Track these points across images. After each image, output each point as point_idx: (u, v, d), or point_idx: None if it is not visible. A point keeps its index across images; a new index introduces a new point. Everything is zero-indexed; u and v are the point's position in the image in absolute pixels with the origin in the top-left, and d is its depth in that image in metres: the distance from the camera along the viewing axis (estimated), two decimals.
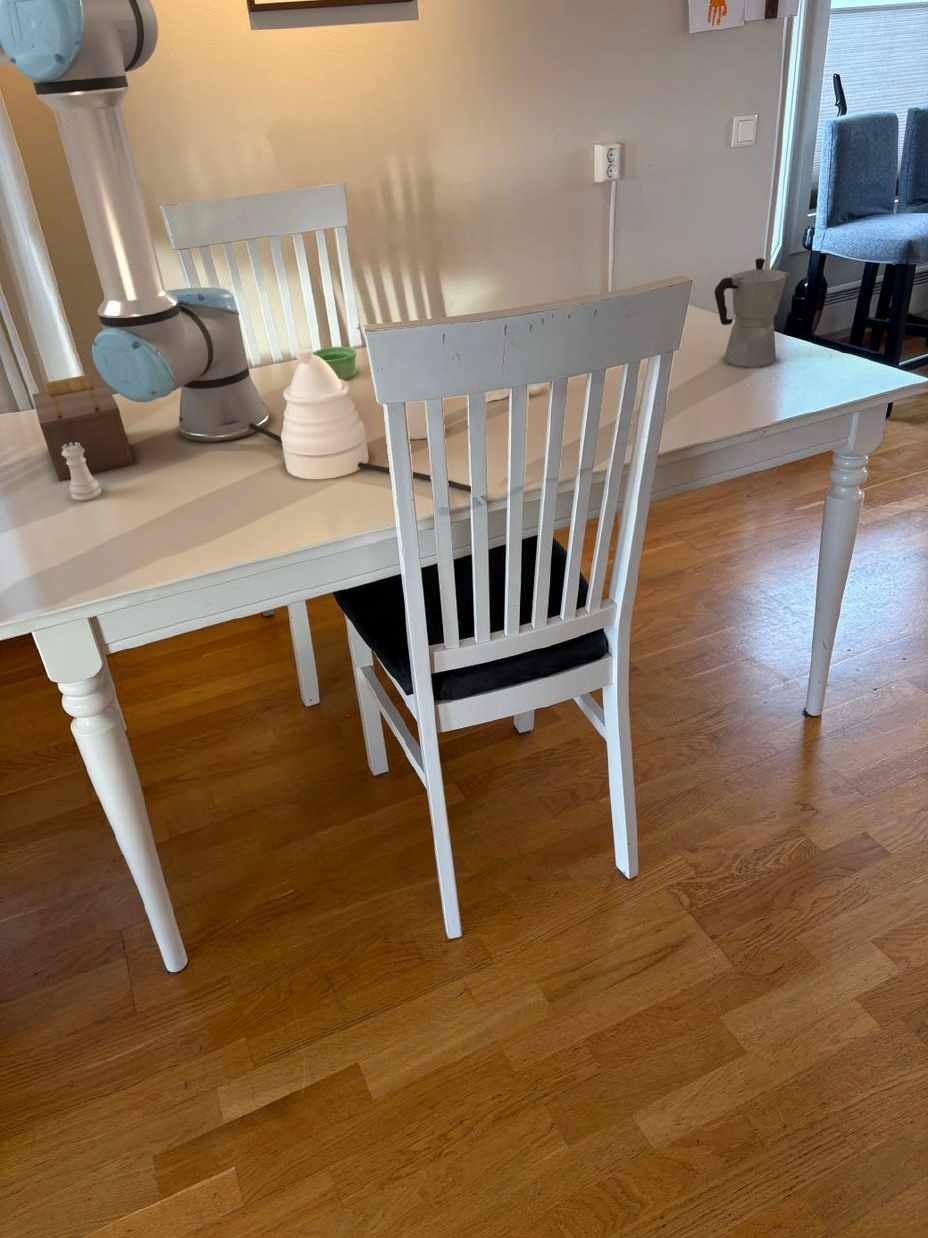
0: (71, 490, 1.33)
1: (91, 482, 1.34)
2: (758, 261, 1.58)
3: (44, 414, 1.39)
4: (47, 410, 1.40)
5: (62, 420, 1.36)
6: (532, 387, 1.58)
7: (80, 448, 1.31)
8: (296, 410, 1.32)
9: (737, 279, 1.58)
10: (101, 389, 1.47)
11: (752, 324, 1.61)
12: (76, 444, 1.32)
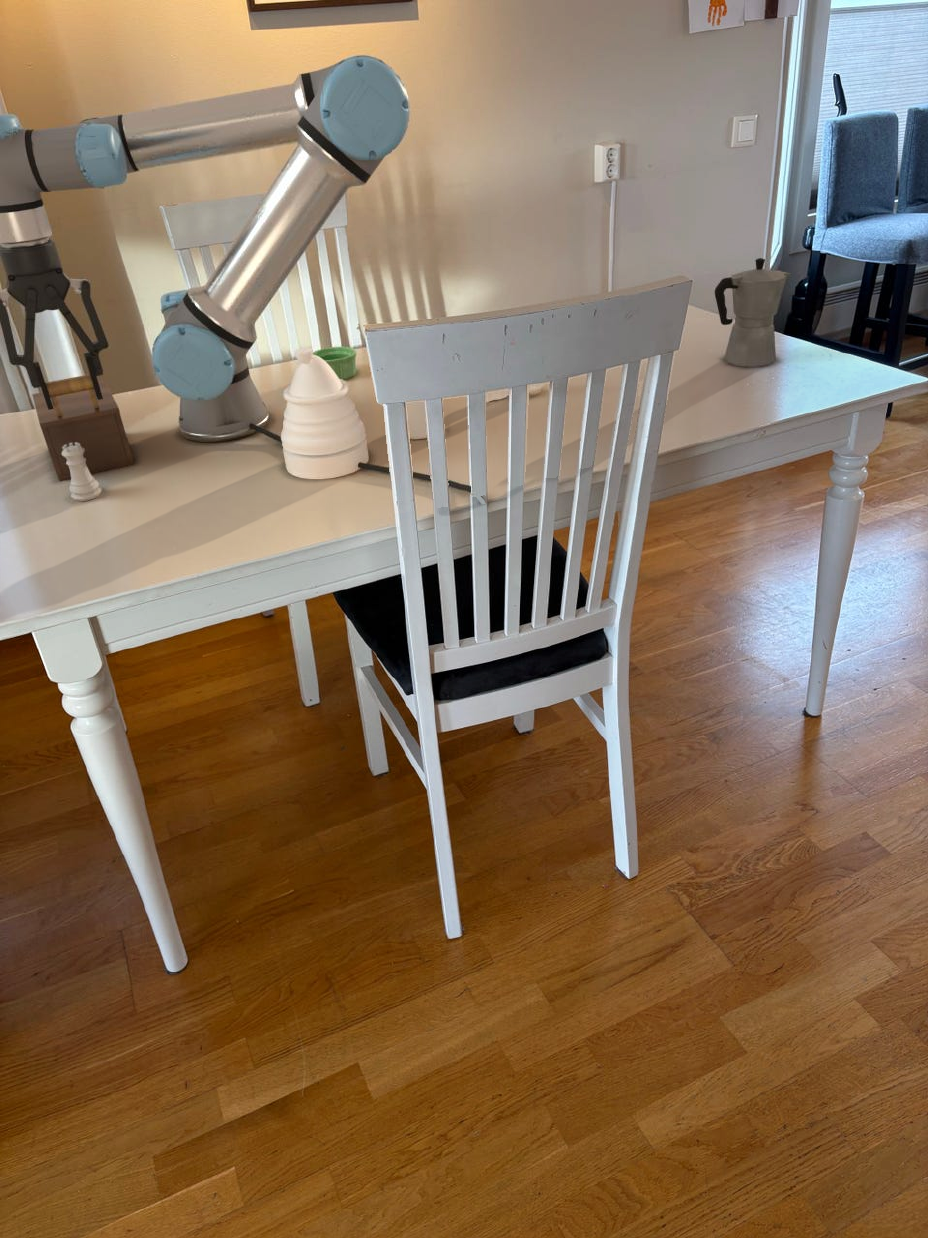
0: (71, 490, 1.33)
1: (91, 482, 1.34)
2: (758, 261, 1.58)
3: (44, 414, 1.39)
4: (47, 410, 1.40)
5: (62, 420, 1.36)
6: (532, 387, 1.58)
7: (80, 448, 1.31)
8: (296, 409, 1.32)
9: (737, 279, 1.58)
10: (101, 389, 1.47)
11: (752, 324, 1.61)
12: (76, 444, 1.32)
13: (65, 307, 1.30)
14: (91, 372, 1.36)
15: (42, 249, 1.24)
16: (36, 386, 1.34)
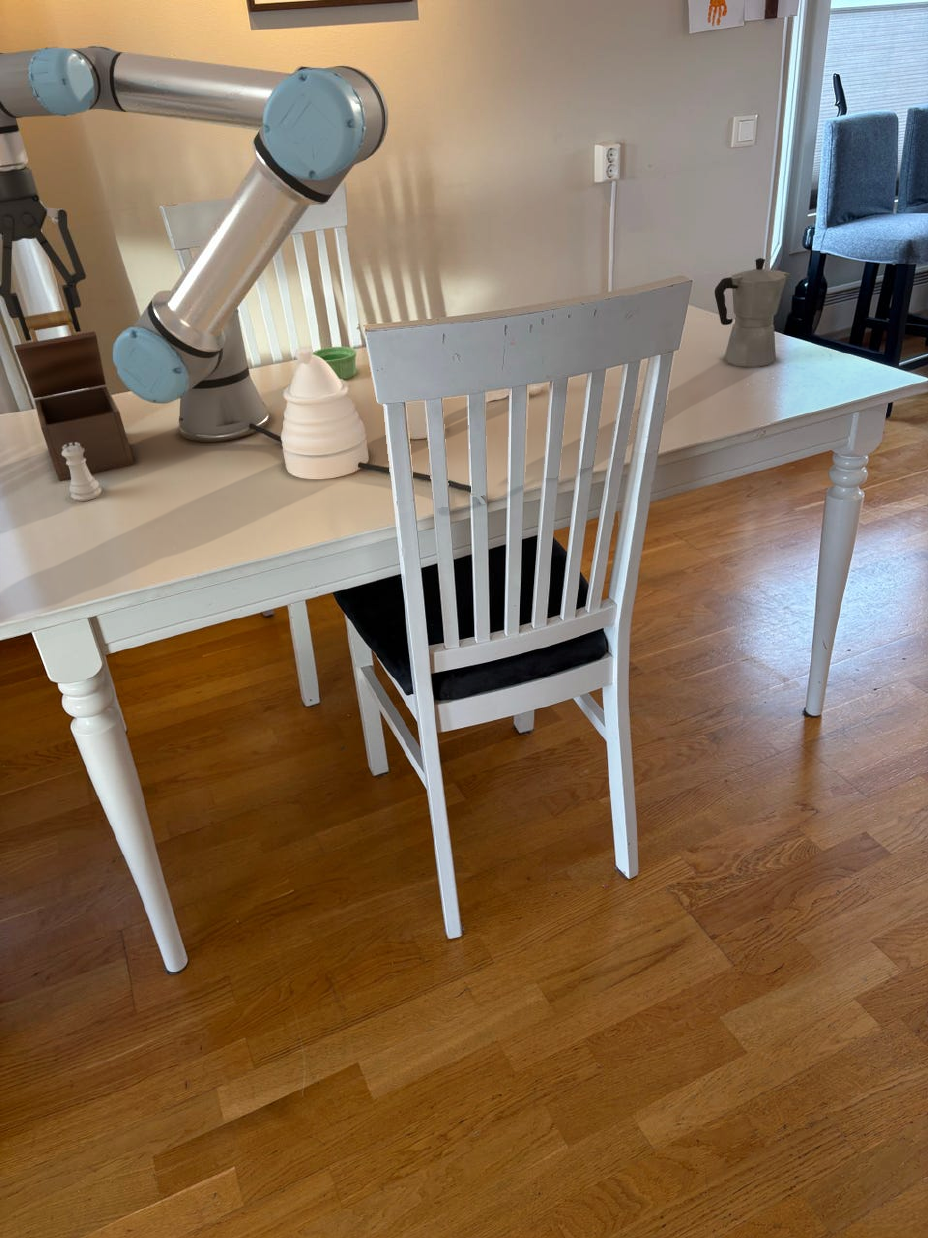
0: (71, 490, 1.33)
1: (91, 482, 1.34)
2: (758, 261, 1.58)
3: None
4: None
5: (37, 342, 1.34)
6: (532, 387, 1.58)
7: (80, 448, 1.31)
8: (296, 409, 1.32)
9: (737, 279, 1.58)
10: None
11: (752, 324, 1.61)
12: (76, 444, 1.32)
13: (42, 236, 1.31)
14: (69, 303, 1.37)
15: (18, 174, 1.25)
16: (14, 316, 1.35)
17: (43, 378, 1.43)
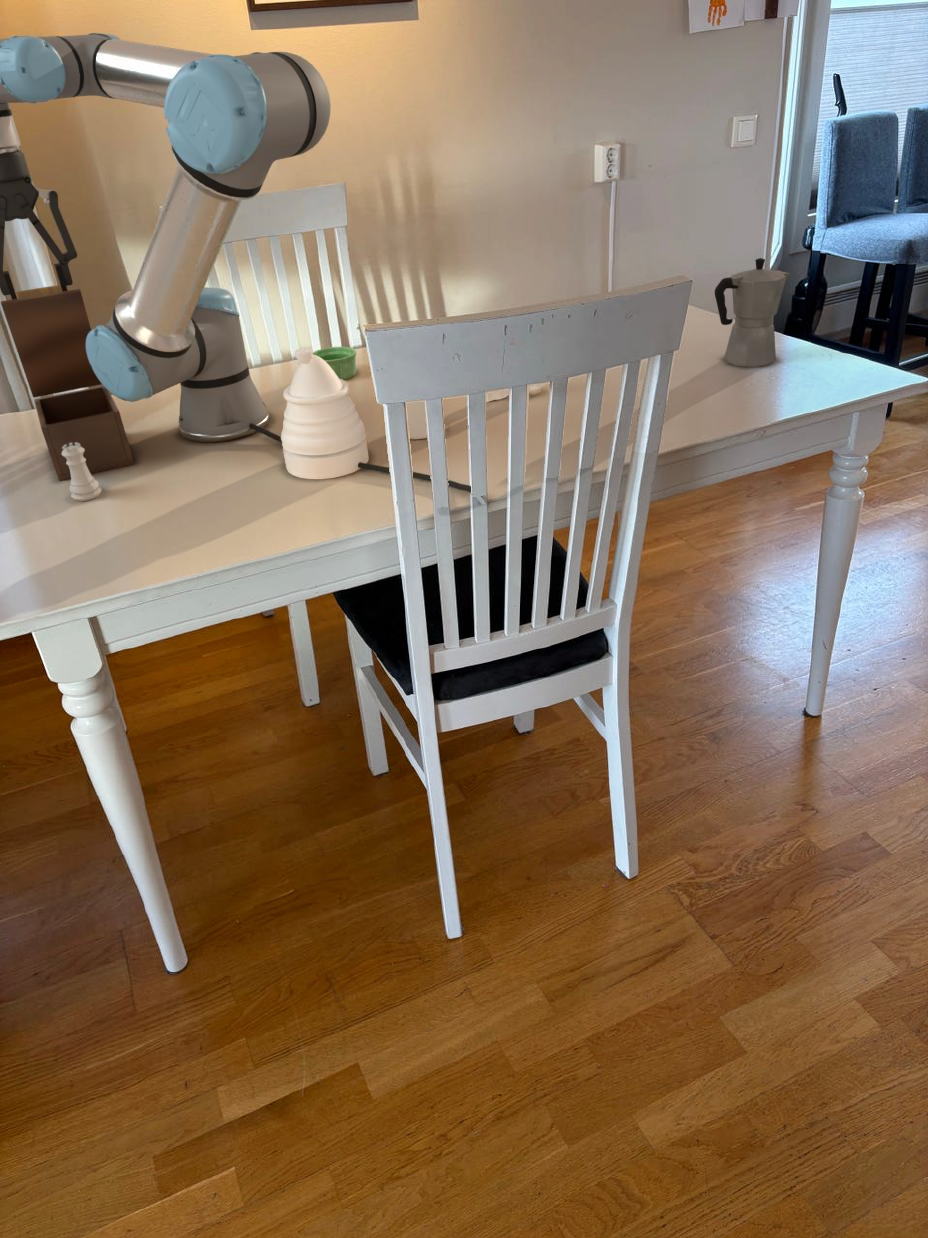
0: (71, 490, 1.33)
1: (91, 482, 1.34)
2: (758, 261, 1.58)
3: None
4: None
5: (23, 298, 1.37)
6: (532, 387, 1.58)
7: (80, 448, 1.31)
8: (296, 410, 1.32)
9: (737, 279, 1.58)
10: None
11: (752, 324, 1.61)
12: (76, 444, 1.32)
13: (34, 216, 1.37)
14: (61, 281, 1.43)
15: (10, 157, 1.31)
16: (6, 293, 1.41)
17: (38, 361, 1.44)
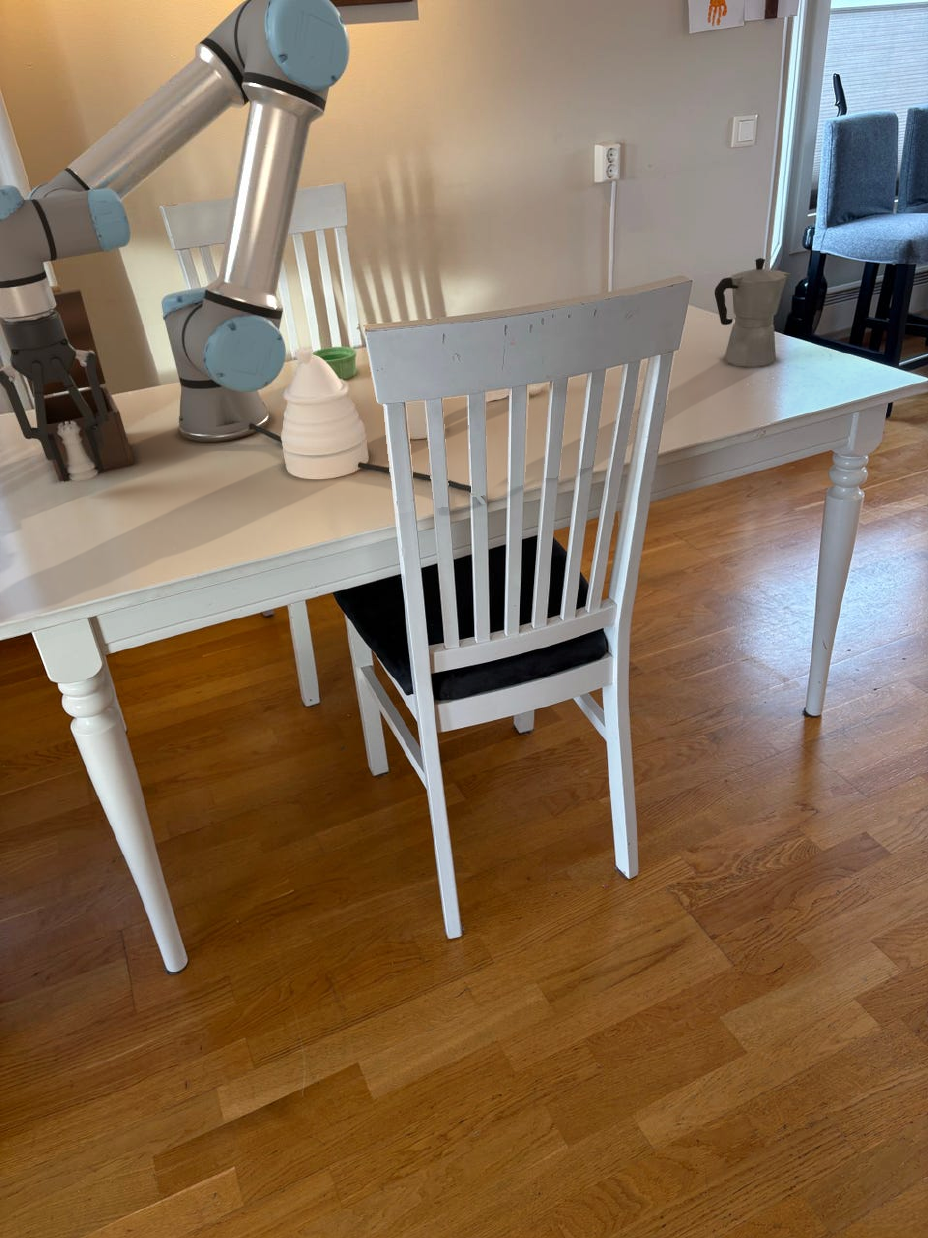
0: (67, 470, 1.32)
1: (87, 462, 1.32)
2: (758, 261, 1.58)
3: None
4: None
5: None
6: (532, 387, 1.58)
7: (76, 427, 1.30)
8: (296, 410, 1.32)
9: (737, 279, 1.58)
10: None
11: (752, 324, 1.61)
12: (72, 423, 1.30)
13: (69, 380, 1.25)
14: (92, 446, 1.31)
15: (46, 322, 1.19)
16: (51, 459, 1.30)
17: None
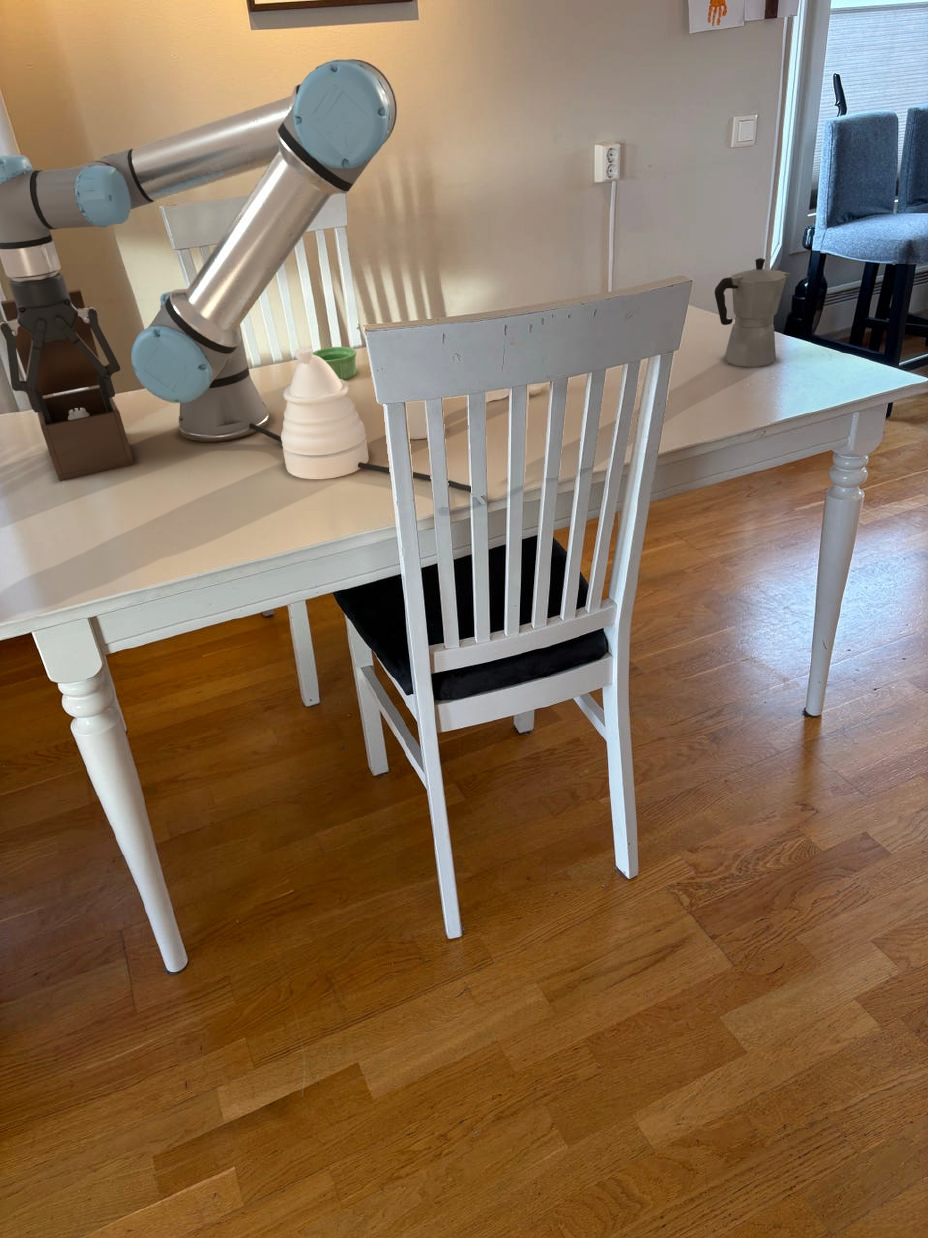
0: None
1: None
2: (758, 261, 1.58)
3: None
4: None
5: None
6: (532, 387, 1.58)
7: (85, 413, 1.42)
8: (296, 409, 1.32)
9: (737, 279, 1.58)
10: None
11: (752, 324, 1.61)
12: (81, 409, 1.43)
13: (75, 335, 1.35)
14: (104, 394, 1.41)
15: (51, 282, 1.29)
16: (37, 411, 1.39)
17: None
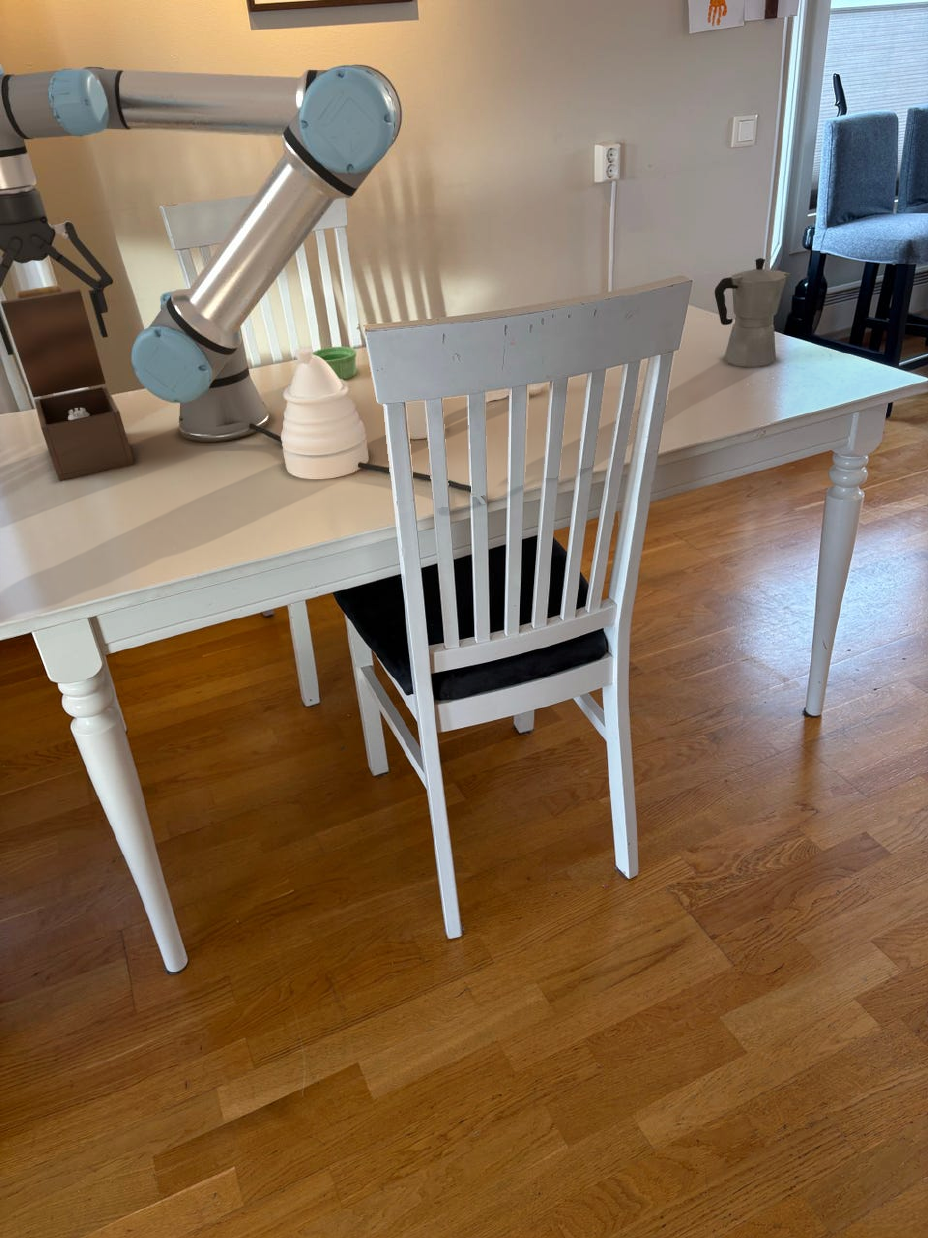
0: None
1: None
2: (758, 261, 1.58)
3: None
4: None
5: (23, 298, 1.37)
6: (532, 387, 1.58)
7: (85, 413, 1.42)
8: (296, 409, 1.32)
9: (737, 279, 1.58)
10: None
11: (752, 324, 1.61)
12: (81, 409, 1.43)
13: (55, 252, 1.29)
14: (96, 309, 1.35)
15: (26, 196, 1.23)
16: None
17: (38, 361, 1.44)
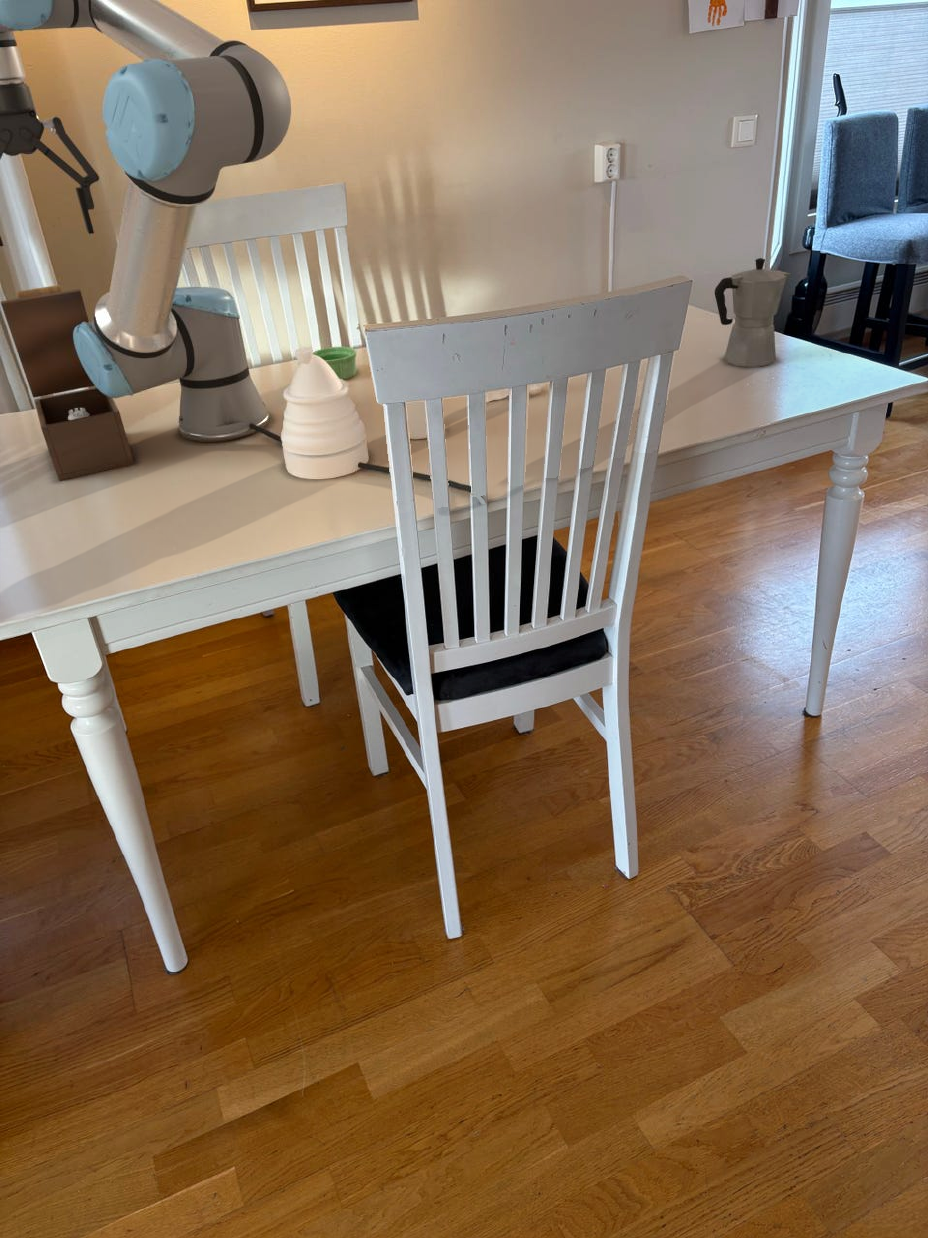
0: None
1: None
2: (758, 261, 1.58)
3: None
4: None
5: (23, 298, 1.37)
6: (532, 387, 1.58)
7: (85, 413, 1.42)
8: (296, 409, 1.32)
9: (737, 279, 1.58)
10: None
11: (752, 324, 1.61)
12: (81, 409, 1.43)
13: (44, 145, 1.35)
14: (82, 204, 1.42)
15: (15, 88, 1.30)
16: None
17: (38, 361, 1.44)
